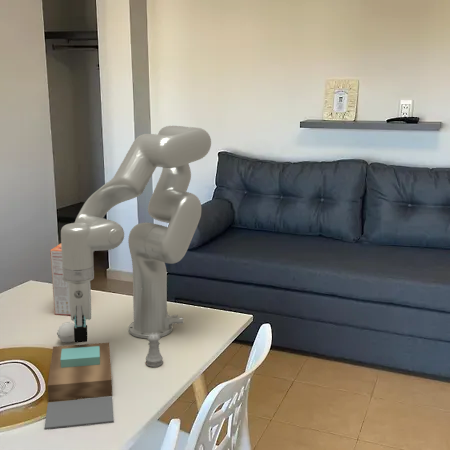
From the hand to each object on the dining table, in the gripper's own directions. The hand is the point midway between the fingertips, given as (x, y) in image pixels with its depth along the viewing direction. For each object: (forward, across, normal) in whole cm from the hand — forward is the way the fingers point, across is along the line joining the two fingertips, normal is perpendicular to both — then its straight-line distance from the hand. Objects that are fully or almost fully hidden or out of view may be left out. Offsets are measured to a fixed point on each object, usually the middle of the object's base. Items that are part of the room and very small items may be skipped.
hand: (81, 341), depth 150 cm
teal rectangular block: (+1, -9, 0) cm, 9 cm away
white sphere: (+5, +10, +4) cm, 12 cm away
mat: (+5, -26, 0) cm, 26 cm away
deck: (+5, -10, 0) cm, 11 cm away
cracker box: (+5, +37, +4) cm, 38 cm away
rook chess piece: (+5, -6, -18) cm, 20 cm away
